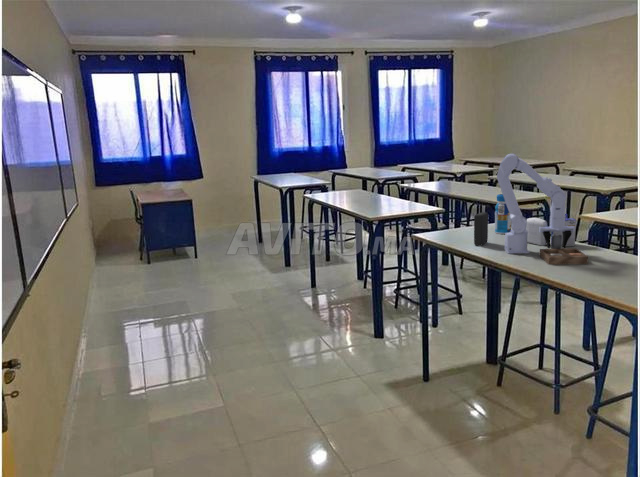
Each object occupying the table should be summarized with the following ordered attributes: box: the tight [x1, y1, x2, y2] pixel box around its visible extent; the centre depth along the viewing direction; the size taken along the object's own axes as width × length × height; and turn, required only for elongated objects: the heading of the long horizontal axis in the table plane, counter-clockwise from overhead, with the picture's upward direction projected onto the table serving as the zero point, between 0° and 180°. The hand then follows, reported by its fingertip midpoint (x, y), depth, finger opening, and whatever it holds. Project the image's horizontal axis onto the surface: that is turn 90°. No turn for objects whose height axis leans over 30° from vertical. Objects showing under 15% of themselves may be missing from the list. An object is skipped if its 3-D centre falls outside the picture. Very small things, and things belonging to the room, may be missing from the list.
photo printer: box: [526, 217, 548, 247], centre depth 248 cm, size 10×4×12 cm, turn 31°
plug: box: [550, 233, 562, 249], centre depth 231 cm, size 4×4×9 cm
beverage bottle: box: [494, 193, 512, 235], centre depth 273 cm, size 8×8×20 cm
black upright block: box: [473, 211, 489, 246], centre depth 253 cm, size 9×4×15 cm, turn 141°
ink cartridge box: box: [550, 213, 577, 247], centre depth 242 cm, size 10×6×14 cm, turn 78°
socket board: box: [539, 247, 589, 265], centre depth 221 cm, size 15×14×3 cm
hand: (556, 247), depth 231 cm, fingers open, 6 cm apart
